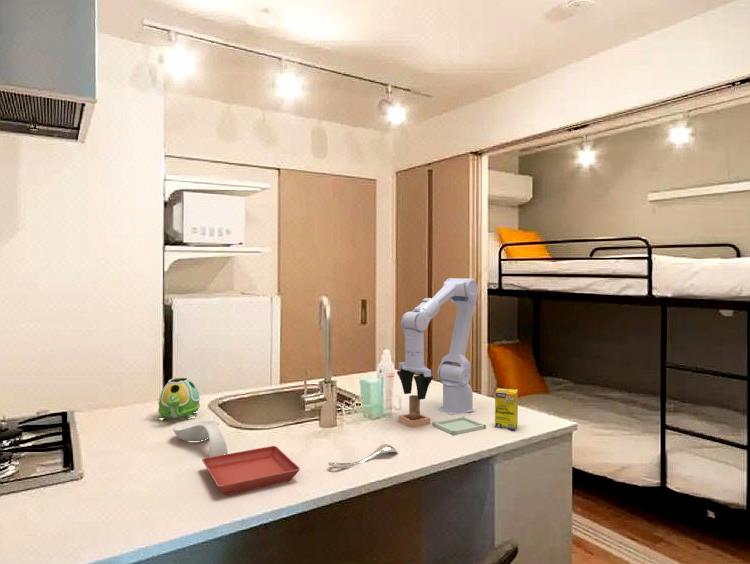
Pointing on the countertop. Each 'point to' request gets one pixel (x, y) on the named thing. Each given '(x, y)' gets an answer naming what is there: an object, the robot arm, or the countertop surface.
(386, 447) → the silver spork
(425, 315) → the robot arm
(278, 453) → the plant saucer
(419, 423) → the tray
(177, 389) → the turtle holder
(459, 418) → the tray
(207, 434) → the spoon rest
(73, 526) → the countertop surface
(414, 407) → the dowel
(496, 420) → the supplement box
